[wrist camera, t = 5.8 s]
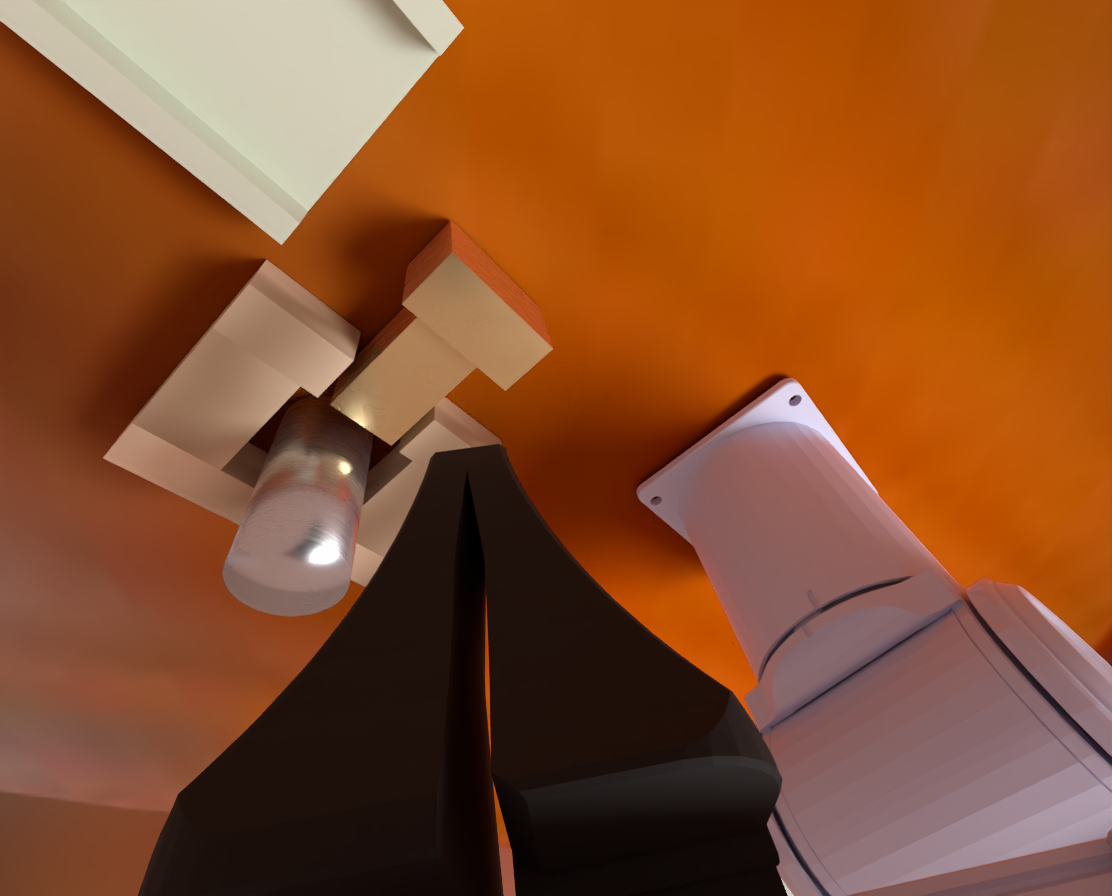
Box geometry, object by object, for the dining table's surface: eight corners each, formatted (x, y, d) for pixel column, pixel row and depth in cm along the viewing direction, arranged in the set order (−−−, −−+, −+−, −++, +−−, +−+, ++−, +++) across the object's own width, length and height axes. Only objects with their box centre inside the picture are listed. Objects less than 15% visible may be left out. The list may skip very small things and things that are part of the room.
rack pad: (461, 26, 15) (463, 27, 13) (296, 223, 17) (281, 244, 15) (189, -314, 11) (146, -371, 9) (21, -6, 13) (-36, -9, 12)
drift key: (540, 308, 19) (553, 348, 17) (412, 425, 21) (408, 476, 19) (450, 219, 17) (452, 252, 15) (318, 359, 19) (301, 407, 17)
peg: (391, 429, 22) (373, 571, 16) (338, 479, 23) (304, 630, 17) (316, 378, 20) (268, 518, 14) (262, 434, 21) (198, 585, 15)
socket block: (501, 440, 23) (505, 472, 21) (370, 551, 25) (366, 587, 23) (266, 259, 17) (249, 283, 16) (129, 422, 20) (102, 458, 18)
